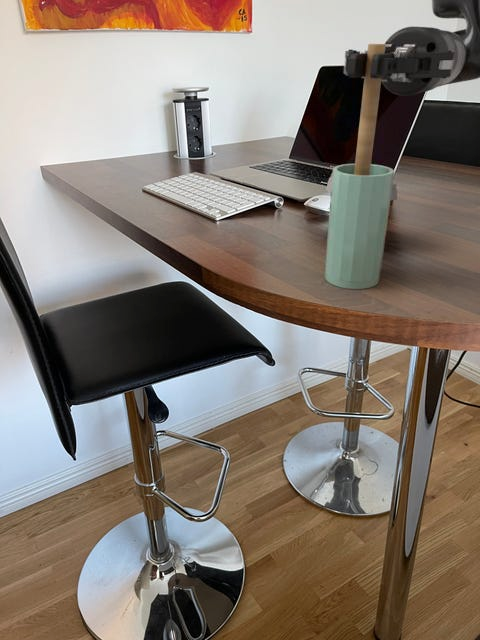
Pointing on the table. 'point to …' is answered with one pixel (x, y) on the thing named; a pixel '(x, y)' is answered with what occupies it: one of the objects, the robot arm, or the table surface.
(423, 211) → the table surface
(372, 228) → the mint green pencil cup
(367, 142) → the brush
